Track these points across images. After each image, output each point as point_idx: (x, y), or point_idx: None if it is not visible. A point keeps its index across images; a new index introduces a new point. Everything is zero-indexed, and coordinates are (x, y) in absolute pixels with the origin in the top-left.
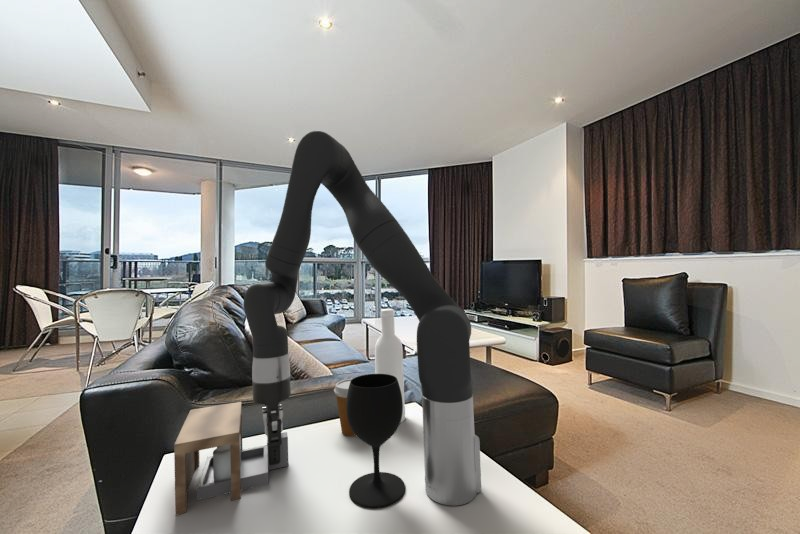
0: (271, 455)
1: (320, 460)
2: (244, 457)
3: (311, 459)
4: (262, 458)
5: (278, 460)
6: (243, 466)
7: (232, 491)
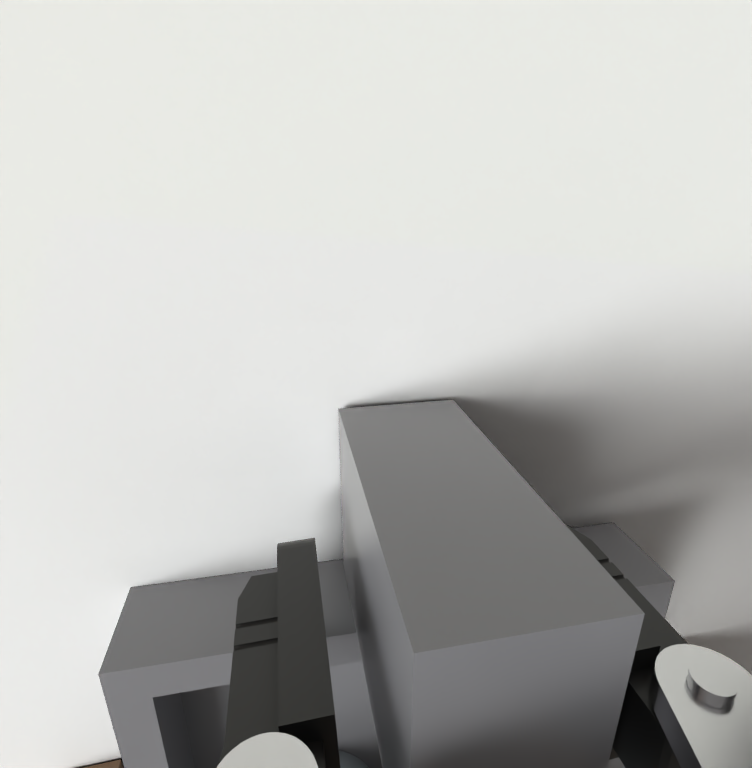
0: None
1: (488, 47)
2: (193, 760)
3: (416, 156)
4: None
5: (582, 534)
6: (341, 726)
7: None
